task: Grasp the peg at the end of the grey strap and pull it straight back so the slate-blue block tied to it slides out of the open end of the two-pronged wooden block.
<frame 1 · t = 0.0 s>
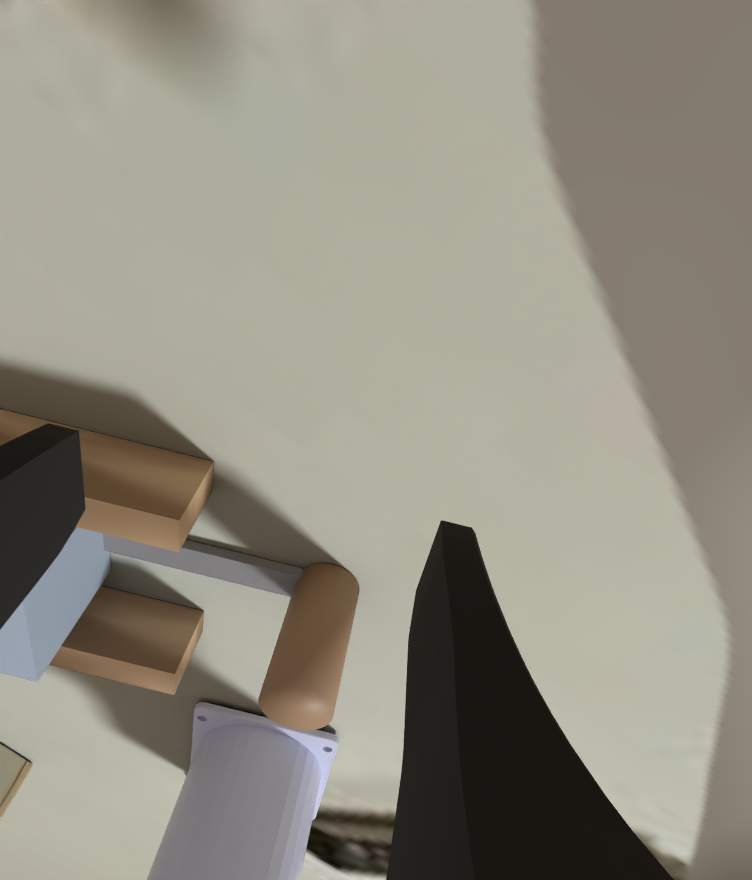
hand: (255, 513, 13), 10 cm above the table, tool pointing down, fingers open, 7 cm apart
block with pull: (53, 518, 28), on the table
two-pronged wooden block: (86, 526, 28), on the table
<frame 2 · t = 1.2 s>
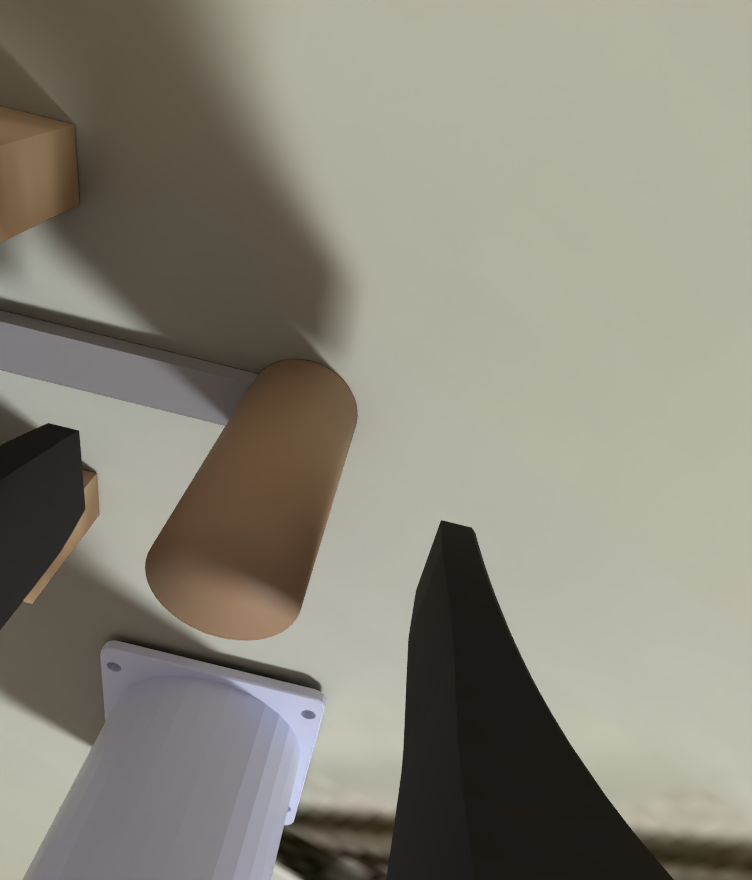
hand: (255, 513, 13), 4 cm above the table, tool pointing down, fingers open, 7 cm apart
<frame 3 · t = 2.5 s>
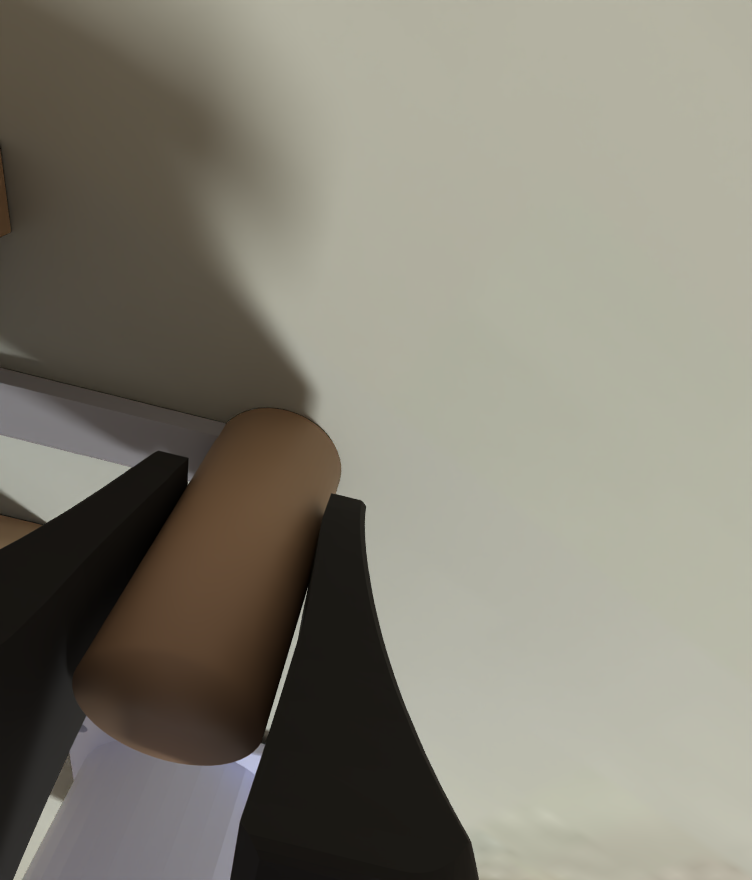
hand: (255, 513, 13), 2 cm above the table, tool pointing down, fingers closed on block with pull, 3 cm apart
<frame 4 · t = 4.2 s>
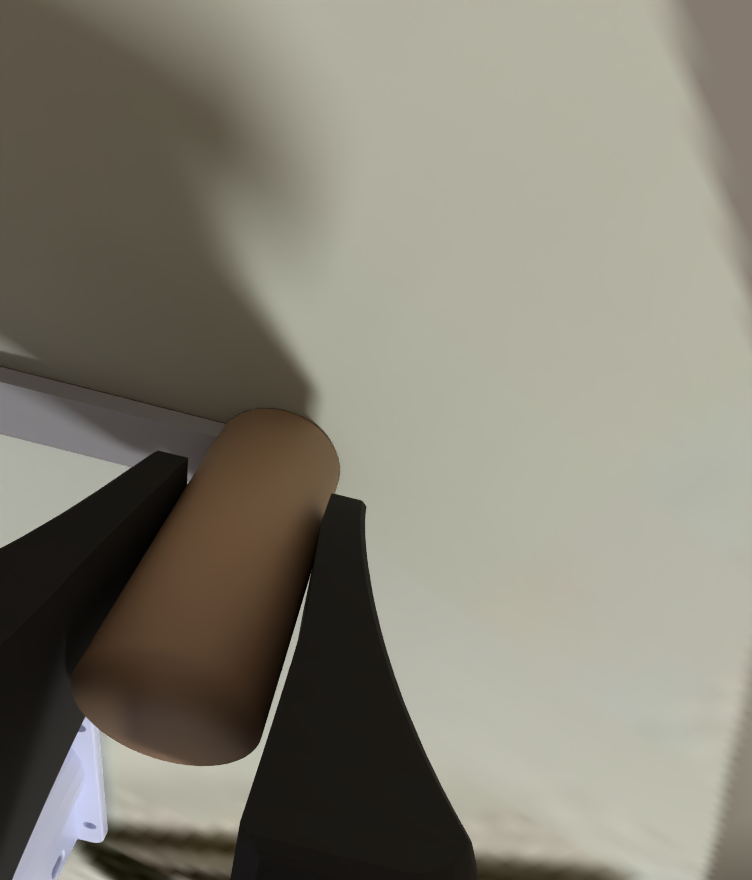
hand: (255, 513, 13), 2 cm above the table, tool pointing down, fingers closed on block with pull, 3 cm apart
when the fingers open (2 cm above the table, at t = 4.9 s): block with pull stays where it is, on the table.
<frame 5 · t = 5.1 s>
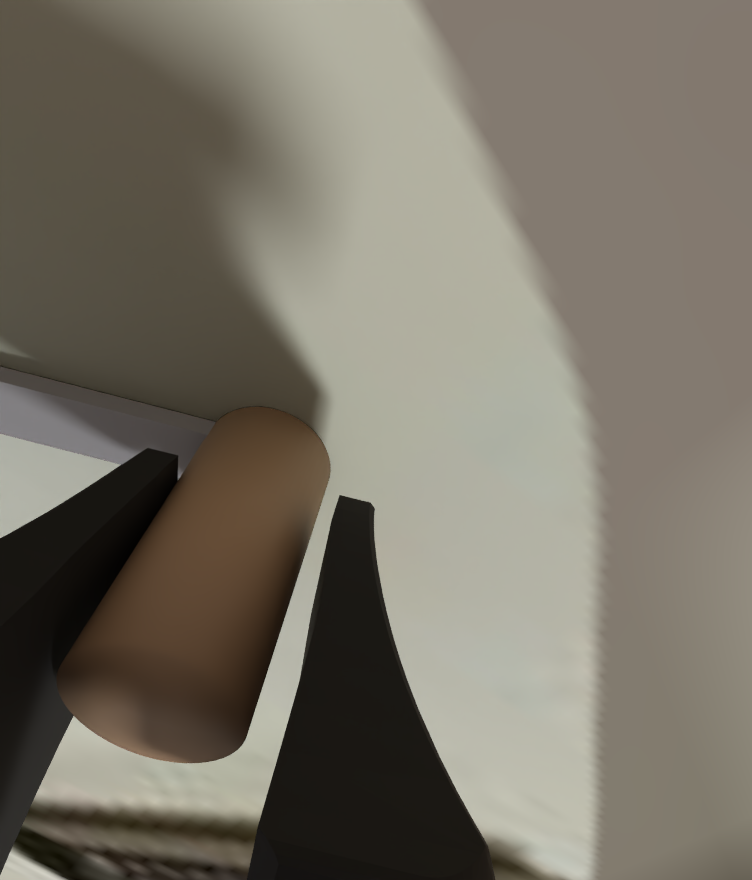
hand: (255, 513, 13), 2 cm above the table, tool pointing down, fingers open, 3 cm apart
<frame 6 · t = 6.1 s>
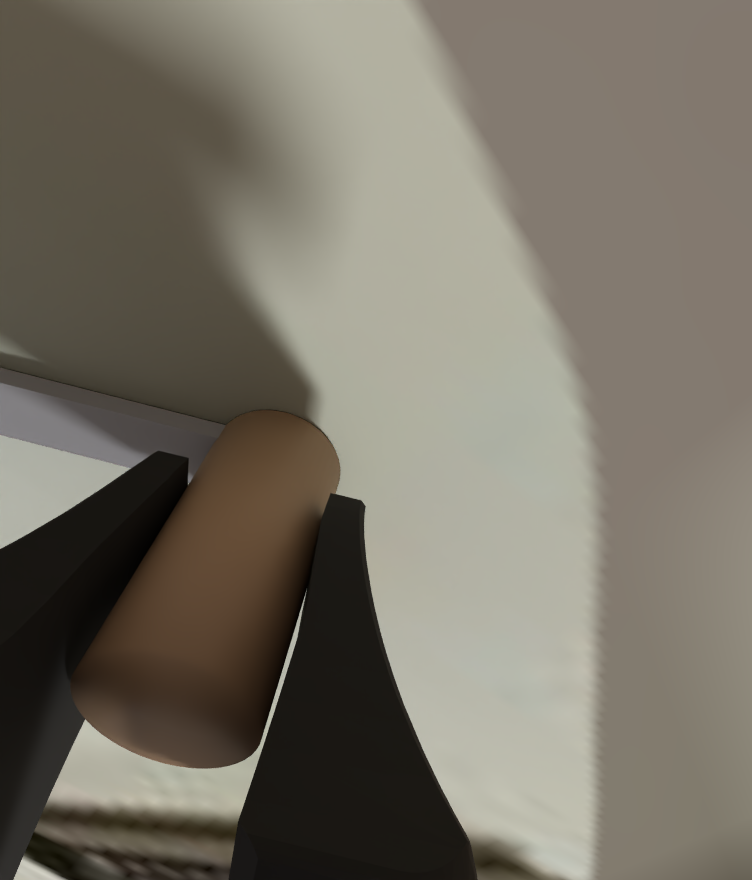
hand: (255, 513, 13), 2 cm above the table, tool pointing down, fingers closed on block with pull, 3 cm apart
when the fingers open (2 cm above the table, at t = 6.1 s): block with pull stays where it is, on the table.
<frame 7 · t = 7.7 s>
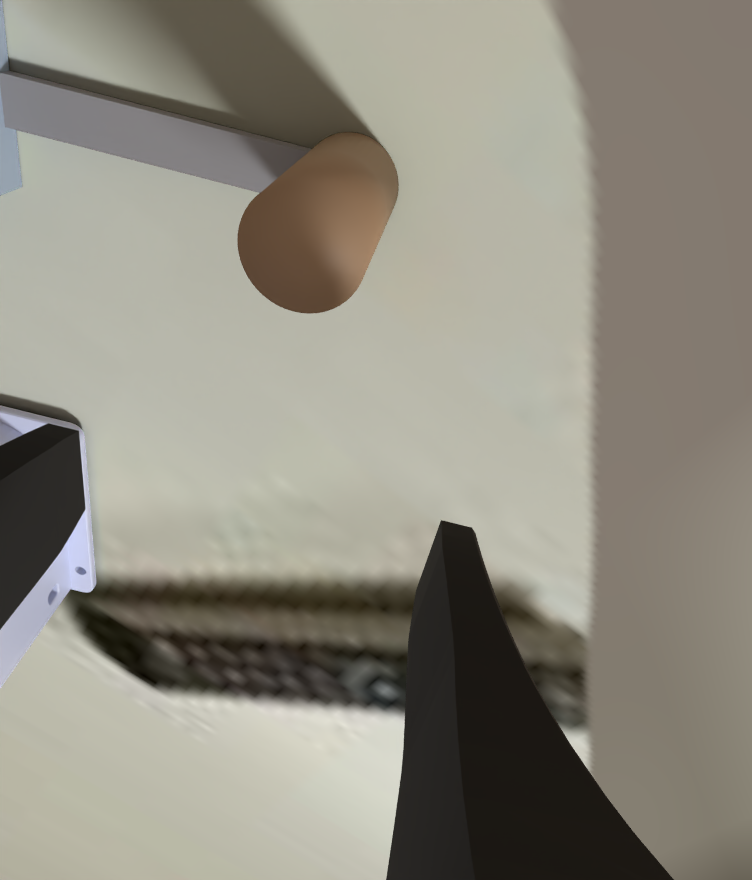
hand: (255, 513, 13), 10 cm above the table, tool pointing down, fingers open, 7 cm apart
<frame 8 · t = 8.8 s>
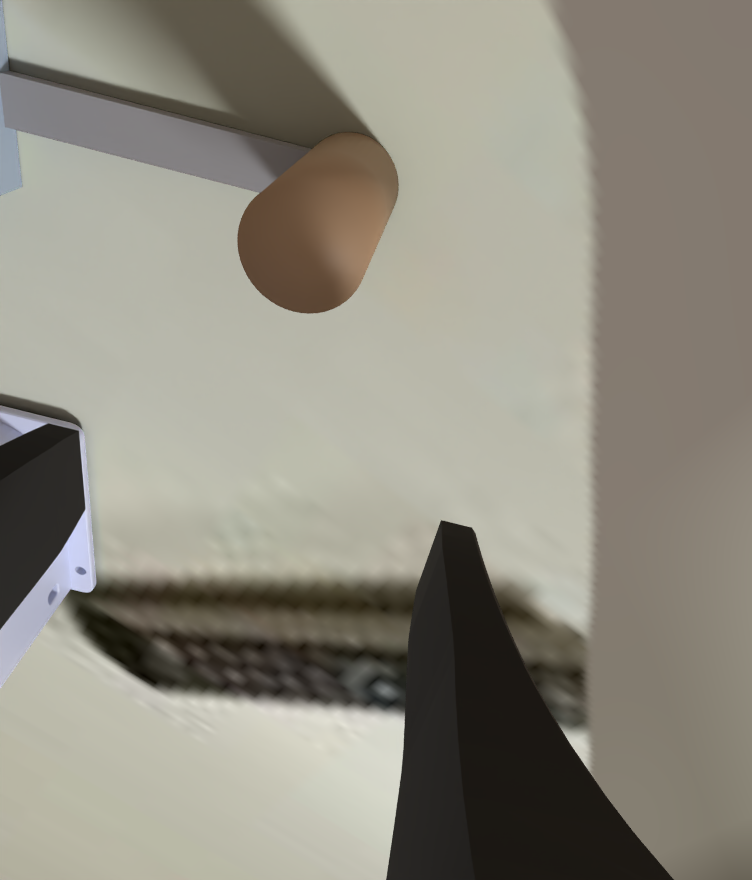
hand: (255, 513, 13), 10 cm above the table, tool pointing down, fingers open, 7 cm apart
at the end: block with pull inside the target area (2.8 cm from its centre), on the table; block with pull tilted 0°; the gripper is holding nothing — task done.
